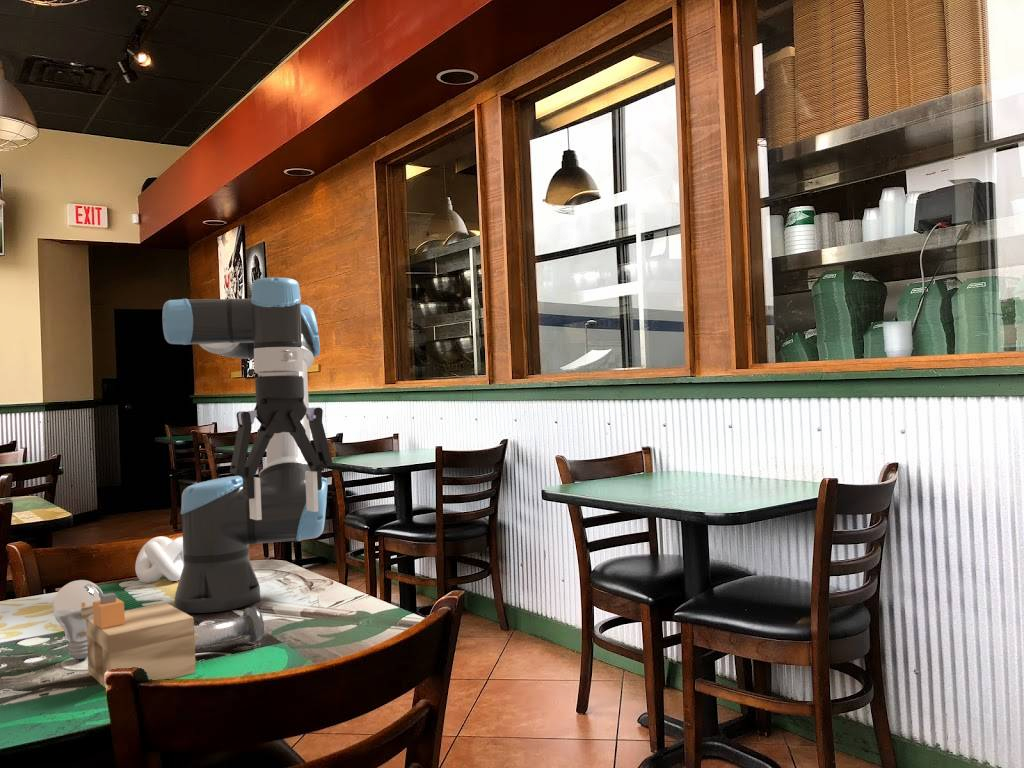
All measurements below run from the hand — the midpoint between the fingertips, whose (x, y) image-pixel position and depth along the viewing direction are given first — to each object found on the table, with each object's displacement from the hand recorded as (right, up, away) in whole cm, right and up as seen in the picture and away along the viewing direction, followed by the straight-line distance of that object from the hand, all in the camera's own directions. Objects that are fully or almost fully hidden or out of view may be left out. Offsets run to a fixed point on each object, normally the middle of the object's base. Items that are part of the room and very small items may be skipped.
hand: (284, 514), depth 130 cm
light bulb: (-28, -21, -8) cm, 36 cm away
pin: (-9, -20, -8) cm, 23 cm away
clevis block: (-16, -20, -15) cm, 30 cm away
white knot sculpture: (-39, -21, +44) cm, 62 cm away
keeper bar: (-20, -12, -17) cm, 29 cm away
